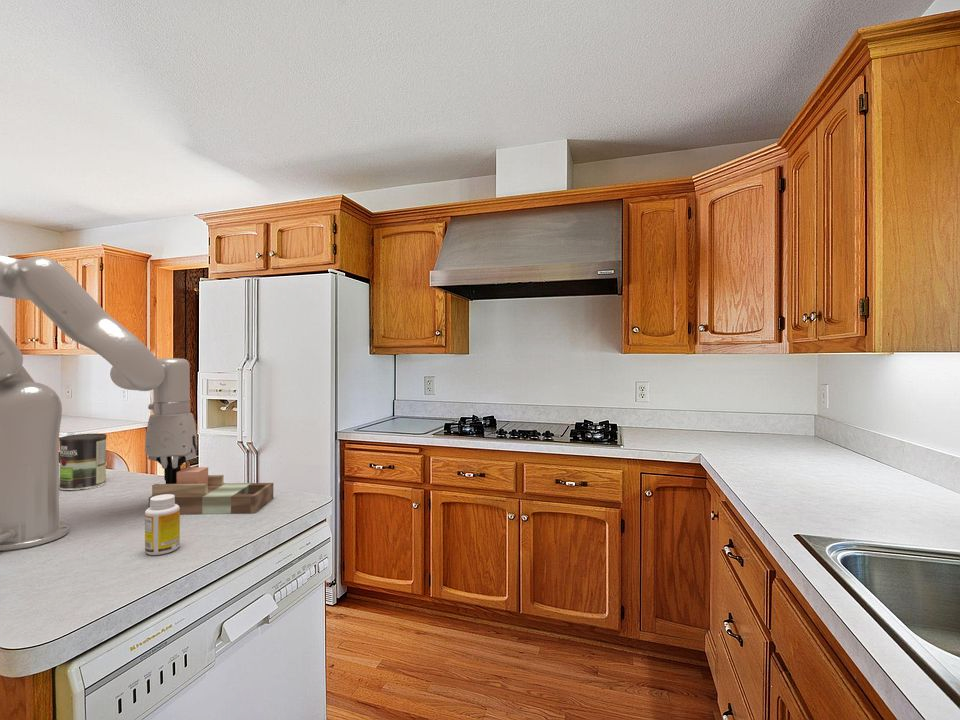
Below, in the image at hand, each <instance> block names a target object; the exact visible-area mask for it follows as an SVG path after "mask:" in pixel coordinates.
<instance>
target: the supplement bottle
mask: <svg viewBox="0 0 960 720" xmlns="http://www.w3.org/2000/svg"><path fill="white" fill-rule="evenodd" d="M180 515H181V514H180V507H179V505H177V504H175V496H174V495H172V494H164V495H158V496H154V497H152V498H150V508H149V507H148V508H146V510H145V511H144V543H145V544H144V550H145V551H144V552H145V553H146V554H147V555H149V556H160V555H166V554H170V553H171V552H172V553H173V552H174V551H176V550H177V549H178V548H179V547H180V543H181V541H180V540H181V537H180V536H181V533H180V532H181V527H180V526H181V523H180V522H181V521H180V519H181V518H180V517H181V516H180Z"/></svg>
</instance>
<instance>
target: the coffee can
mask: <svg viewBox="0 0 960 720" xmlns="http://www.w3.org/2000/svg"><path fill="white" fill-rule="evenodd" d="M106 465H107V434H105V433H80V434H79V433H78V434H70V435H65V436H61V437H59V491H62V490H78V491H81V490H80V489H87V490H89V489H88V488H92V489H95V488H94V487H97V488H99V487H98V486H100V487H102V486H101V485H103V486H105V485H106V484H107V477H106V476H107V466H106ZM105 483H106V484H105ZM104 484H105V485H104Z"/></svg>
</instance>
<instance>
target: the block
mask: <svg viewBox="0 0 960 720" xmlns="http://www.w3.org/2000/svg"><path fill="white" fill-rule="evenodd" d="M208 475H209V467H208V466H201V467H200V466H196V467H195V466H193V467H190V466H189V467H185V468H183V469H181V471H178V472H177V484H208Z"/></svg>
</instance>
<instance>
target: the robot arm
mask: <svg viewBox="0 0 960 720" xmlns="http://www.w3.org/2000/svg"><path fill="white" fill-rule="evenodd" d="M0 297H3V298H11V299H15V300H24V301H31V303H33V304H34V305H35V307H37V308H38V309H40V311H41V312H42V313H43V314H44V315H45V316H46V317H47V318H48V319H49V320H50V321H52V322H53V324H54V325H55V326H56V327H57V328H58V329H60V330H61V332H62V333H64V335H66V337H68V338H70V339H71V340H72V341H74V342H76V343H78V344H80V345H82V346H84V347H86V348H88V349H90V350H92V351H93V352H94V353H96V354H98V355H99V356H101V358H103V359H104V360H106V362H107V363H108V364H110V365H111V368H110V371H109V372H110V373H109V376H110V379H111V381H112V383H113V384H114V385H116V386H117V387H118V388H121V389H124V390H129V391H131V390H132V391H139V392H149V391H152V393H153V401H152V403H149V404H148V406H147V408H148V410H149V411H150V410H152V413H153V414H150V415H149V418H148V421H147V426H146V433H145V444H144V445H145V446H144V447H145V449H144V450H145V455H146V456H147V458H148V460H150V461H153V462H157V463H158V464H159V465H161V467H162V469H163V470H164V471H163V472H164V475H163V477H164V481H165V484H176V483H177V472H178V471H181V470H182V468H181V466H183V465H184V463H186V462H187V461H190V460H194V459H196V458H197V453H196V451H197V446H198V440H197V437H198V435H197V429H196V428H197V427H196V423H195V417H194V414H193V413H192V412H191V389H190V388H191V386H190V385H191V382H190V381H191V379H190V378H191V375H190V374H191V373H190V370H191V369H190V368H191V367H190V362H189V360H187V359H185V358H179V357H178V358H174V357H172V358H171V357H170V358H169V357H168V358H166V357H165V358H157V357H156V356H155V355H154V353H152V351H151V350H150V349H149V348H148V347H147V346H146V345H145V344H144V342H142V340H140V339H139V338H138V337H137V336H136V335H135V334H134V333H132V332H131V331H130V330H128V329H127V328H126V327H125V326H124V325H122V324H121V322H119V321H117V319H115V318H113V316H111V315H110V314H108V313H107V312H106V311H105V309H103V308H102V307H101V305H100V304H99V303H98V302H97V301H96V300H95V299H94V297H92V296H91V295H90V294H89V292H87V291H86V289H85V288H84V286H82V285H81V284H80V283H79V282H78V281H77V280H76V278H74V276H72V274H71V273H70V272H69V271H68V270H67V269H66V268H65V267H64V266H63V265H61V264H60V263H59V262H58V261H56V260H54V259H52V258H50V257H45V256H33V257H32V256H31V257H28V258H24V259H21V258H15V257H10V256H5V255H1V254H0ZM23 363H24V357H23V353H22V351H21V349H20V348H19V347H18V345H17V344H16V343H15V342H14V341H13V340H12V339H11V337H10V336H9V334H8V333H7V332H6V331H5V330H4V328H3V327H2V325H0V552H1V551H2V552H3V551H14V550H21V549H25V548H30V547H31V548H32V547H35V546H39V545H43V544H46V543H50V542H52V541H56V540H58V539H60V538H62V537H64V536H66V535H67V534H68V533H69V530H70V528H69V527H70V526H69V524H67V523H65V522H60V489H59V488H60V441H59V438H60V430H61V424H62V423H61V422H62V417H63V407H62V401H61V399H60V397H59V395H58V393H57V392H56V391H55V390H54V389H53V388H51V387H50V386H48V385H46V384H43V383H40V382H36V381H34V379H33V378H32V376H31V375H30V374H29V372H28V371H27V370H26V368H25V367H24V366H23Z"/></svg>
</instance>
